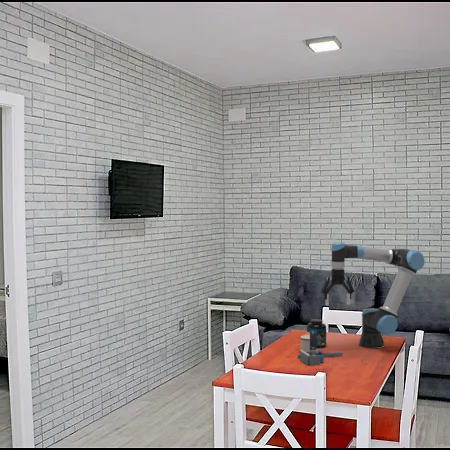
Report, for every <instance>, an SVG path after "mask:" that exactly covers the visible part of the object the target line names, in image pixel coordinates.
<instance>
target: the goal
mask: <svg viewBox="0 0 450 450" xmlns="http://www.w3.org/2000/svg"><path fill="white" fill-rule="evenodd" d="M299 355H300V359H299V361H300V362H302V363H303V364H304V365H306V366H319V365H321V363H320V355H313V351H303V350H300V351H299Z"/></svg>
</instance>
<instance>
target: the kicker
mask: <svg viewBox="0 0 450 450" xmlns="http://www.w3.org/2000/svg"><path fill="white" fill-rule="evenodd" d="M307 351H313V355H320V364H321V363H324V360H325V357H324V355H323V354H322V353H323V350H322V349H319V348H316V332H314V331H311V332H310V349H307Z"/></svg>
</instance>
